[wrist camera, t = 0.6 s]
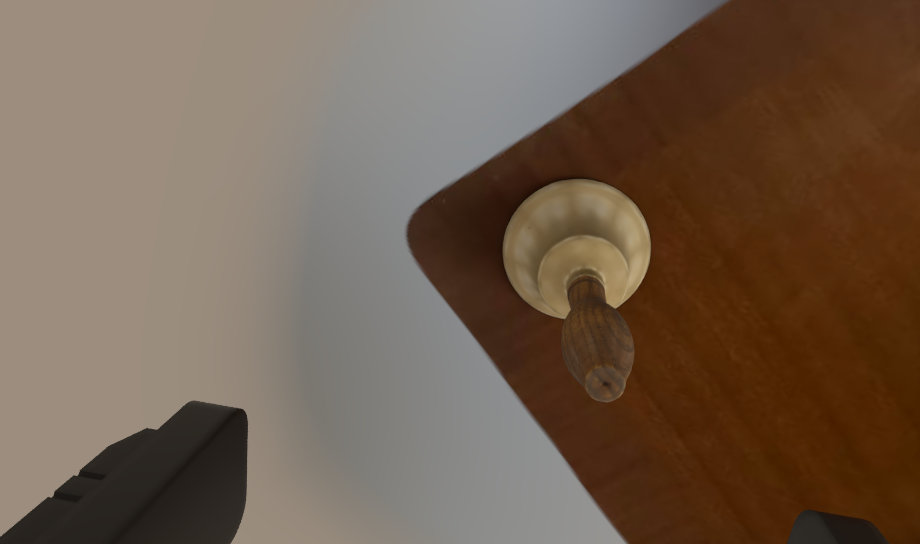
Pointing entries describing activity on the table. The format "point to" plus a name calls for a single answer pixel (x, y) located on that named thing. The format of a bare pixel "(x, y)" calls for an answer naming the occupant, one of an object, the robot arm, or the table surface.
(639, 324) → the table surface
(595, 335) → the hand bell
